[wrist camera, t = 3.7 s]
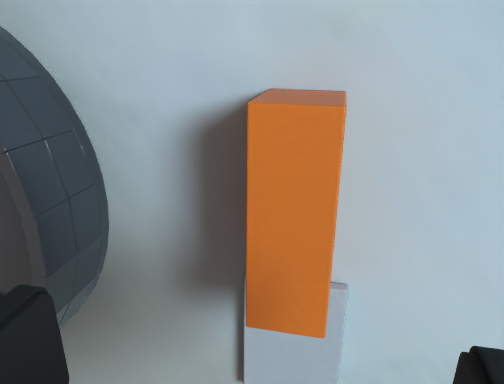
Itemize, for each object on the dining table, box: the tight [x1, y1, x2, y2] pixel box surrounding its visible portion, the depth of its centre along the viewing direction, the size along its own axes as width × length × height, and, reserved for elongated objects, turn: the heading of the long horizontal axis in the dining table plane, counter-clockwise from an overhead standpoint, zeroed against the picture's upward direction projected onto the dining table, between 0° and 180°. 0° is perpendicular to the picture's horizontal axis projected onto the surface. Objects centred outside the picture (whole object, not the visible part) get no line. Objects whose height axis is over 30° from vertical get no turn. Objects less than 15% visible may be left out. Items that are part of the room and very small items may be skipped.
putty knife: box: [244, 89, 348, 384], centre depth 18 cm, size 5×16×4 cm, turn 179°
